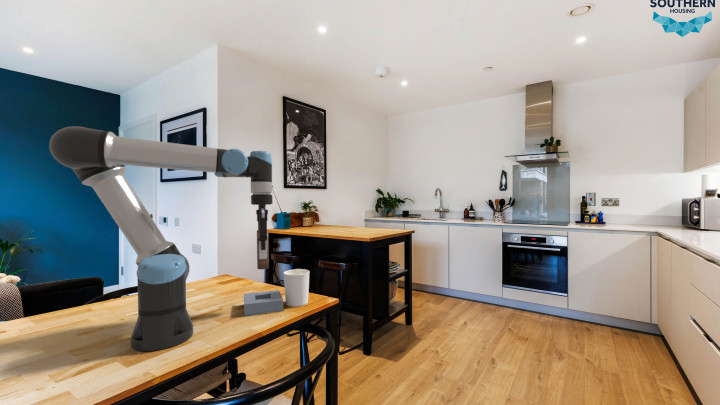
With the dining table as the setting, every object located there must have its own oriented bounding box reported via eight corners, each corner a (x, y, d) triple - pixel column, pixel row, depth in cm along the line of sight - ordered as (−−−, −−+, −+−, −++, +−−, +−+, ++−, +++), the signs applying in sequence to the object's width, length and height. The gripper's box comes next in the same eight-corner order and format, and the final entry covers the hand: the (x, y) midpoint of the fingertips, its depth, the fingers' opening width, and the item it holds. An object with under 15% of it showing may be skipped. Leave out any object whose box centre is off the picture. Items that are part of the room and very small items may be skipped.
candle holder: (307, 307, 114) (306, 274, 114) (280, 307, 114) (280, 275, 114) (312, 298, 124) (311, 268, 124) (287, 299, 124) (287, 269, 124)
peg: (269, 268, 113) (268, 230, 113) (257, 269, 112) (256, 230, 112) (268, 266, 117) (267, 229, 117) (257, 267, 115) (256, 229, 115)
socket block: (244, 316, 106) (244, 304, 106) (243, 304, 118) (243, 293, 118) (283, 310, 111) (283, 299, 111) (278, 299, 123) (278, 289, 123)
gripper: (274, 193, 107) (275, 260, 108) (270, 194, 123) (271, 253, 123) (251, 193, 105) (252, 262, 105) (250, 194, 121) (251, 254, 121)
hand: (262, 257), depth 114 cm, fingers closed on peg, 4 cm apart
